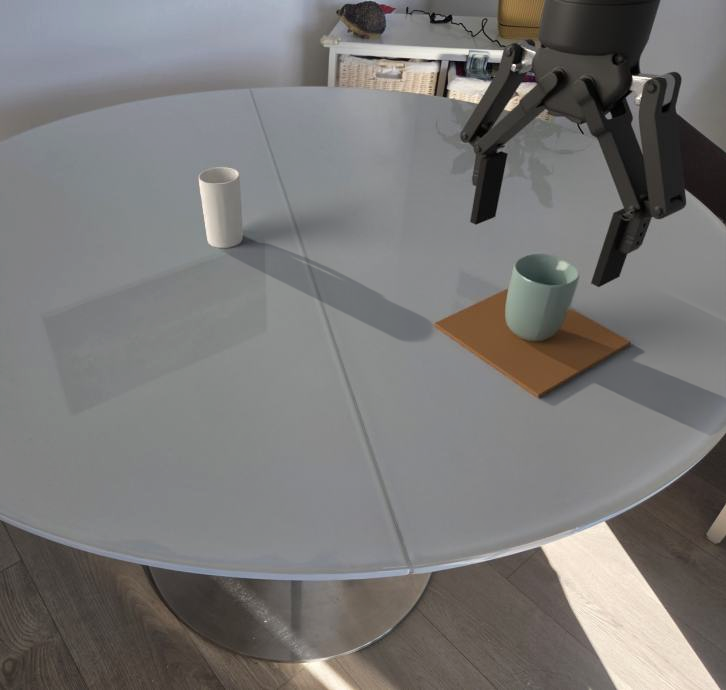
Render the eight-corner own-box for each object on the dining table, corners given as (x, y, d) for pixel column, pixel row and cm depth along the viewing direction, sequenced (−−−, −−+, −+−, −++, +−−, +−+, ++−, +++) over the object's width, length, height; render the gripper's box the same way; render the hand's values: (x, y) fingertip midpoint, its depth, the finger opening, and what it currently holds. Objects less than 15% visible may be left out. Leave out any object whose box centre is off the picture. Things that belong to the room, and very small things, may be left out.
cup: (572, 334, 86) (593, 271, 80) (535, 357, 83) (553, 293, 77) (525, 308, 91) (540, 247, 85) (488, 328, 88) (501, 266, 82)
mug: (244, 248, 110) (239, 182, 102) (205, 250, 110) (197, 185, 102) (244, 220, 117) (239, 158, 110) (208, 222, 117) (200, 160, 110)
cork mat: (629, 344, 85) (631, 341, 84) (537, 398, 78) (539, 394, 77) (521, 284, 97) (522, 281, 97) (433, 326, 90) (434, 322, 90)
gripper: (830, 2, 38) (697, 296, 51) (504, -40, 55) (467, 189, 68) (762, 23, 35) (639, 328, 48) (439, -28, 52) (414, 209, 65)
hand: (538, 247), depth 58 cm, fingers open, 13 cm apart
